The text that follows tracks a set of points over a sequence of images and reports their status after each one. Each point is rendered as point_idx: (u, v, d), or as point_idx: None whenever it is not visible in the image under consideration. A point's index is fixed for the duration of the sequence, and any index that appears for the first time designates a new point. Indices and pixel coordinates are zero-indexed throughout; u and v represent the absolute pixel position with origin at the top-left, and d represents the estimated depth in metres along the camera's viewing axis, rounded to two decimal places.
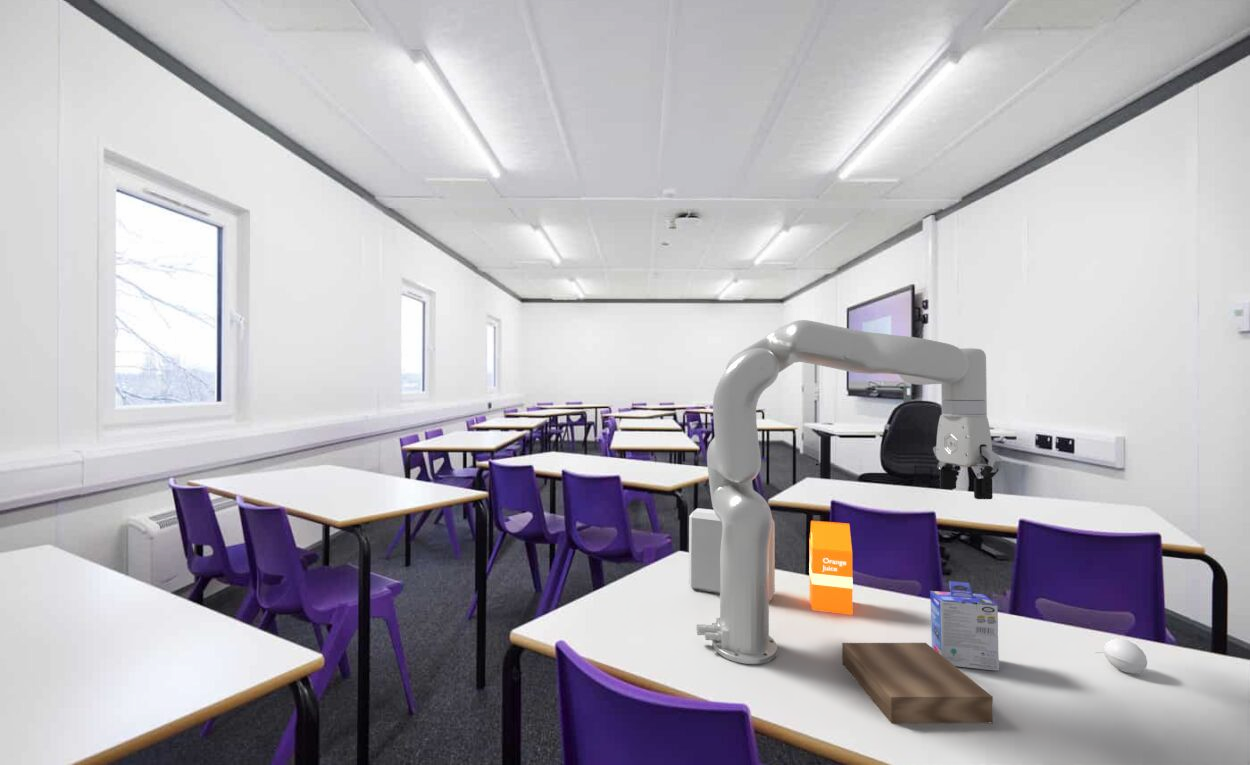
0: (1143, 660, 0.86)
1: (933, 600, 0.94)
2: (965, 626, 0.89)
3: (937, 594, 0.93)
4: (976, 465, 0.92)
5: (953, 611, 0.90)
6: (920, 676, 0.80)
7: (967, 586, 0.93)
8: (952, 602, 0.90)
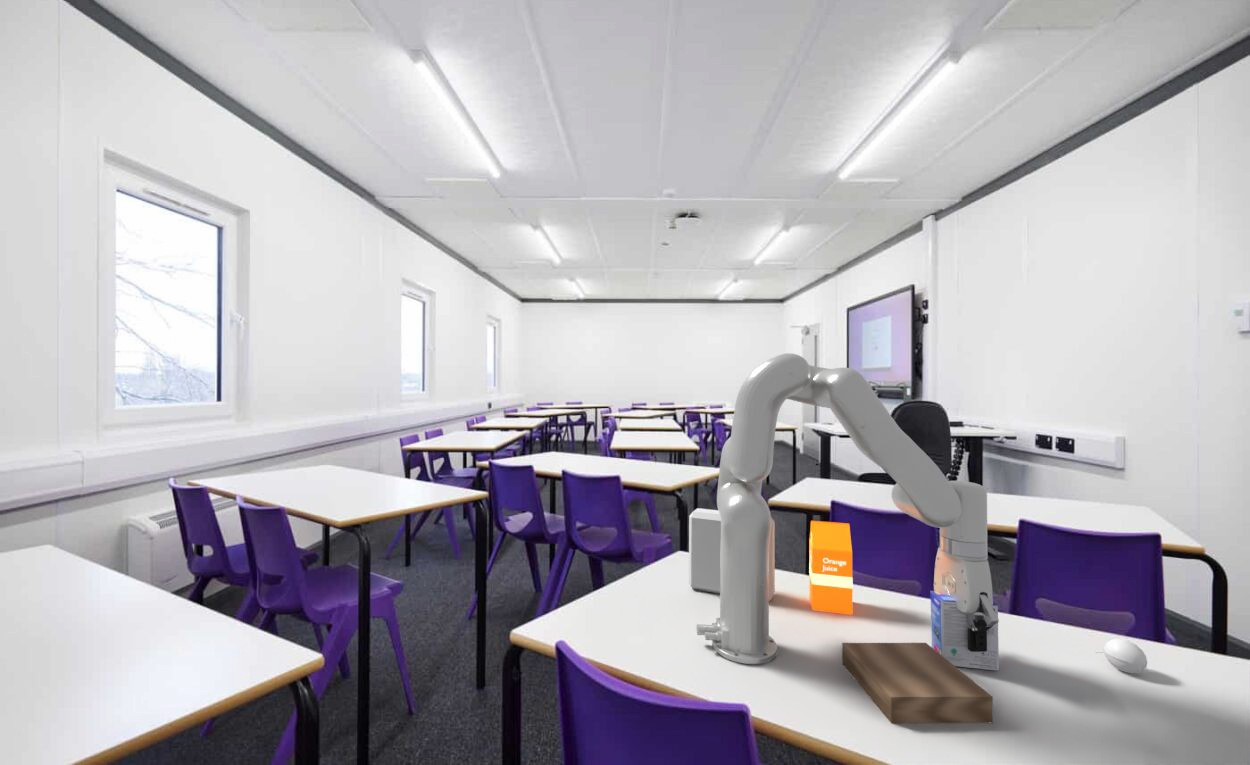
0: (1143, 660, 0.86)
1: (933, 600, 0.93)
2: (965, 625, 0.89)
3: (937, 594, 0.93)
4: (972, 616, 0.88)
5: (954, 611, 0.90)
6: (920, 676, 0.80)
7: None
8: (952, 602, 0.90)
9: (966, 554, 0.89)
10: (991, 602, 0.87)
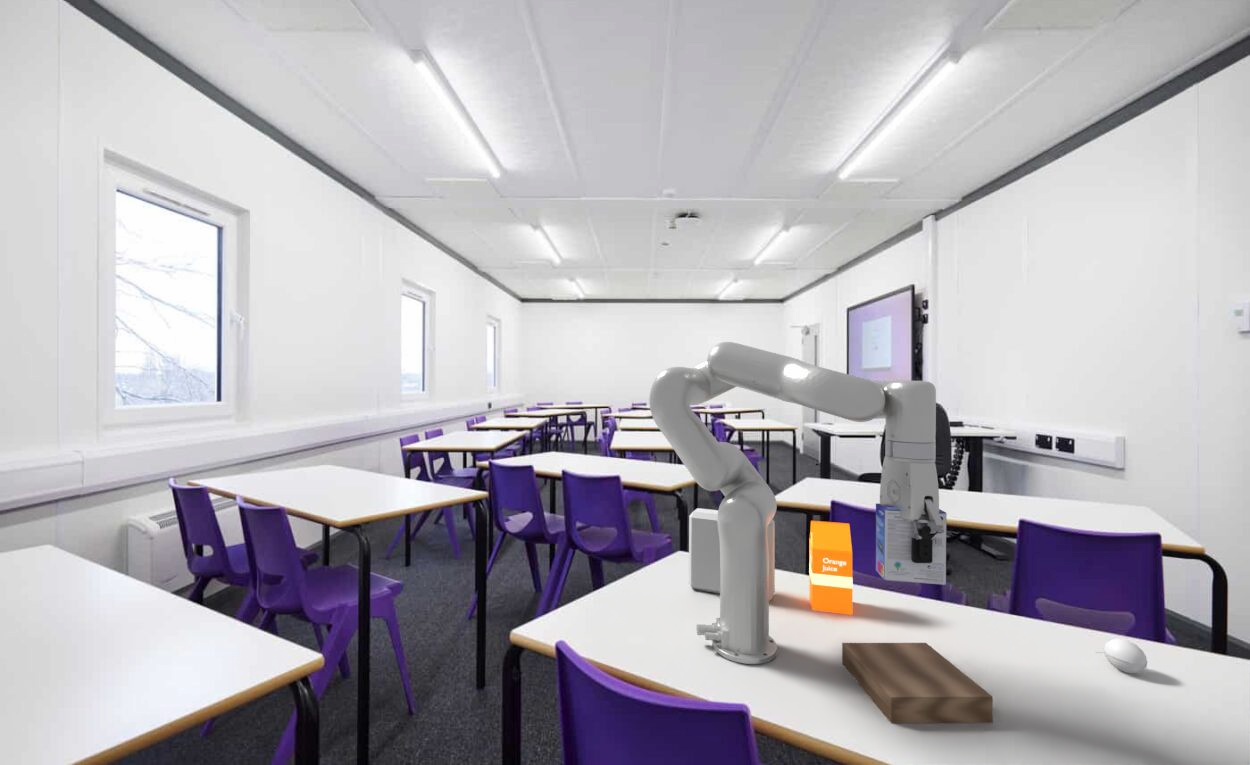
0: (1143, 660, 0.86)
1: (878, 512, 0.85)
2: (911, 536, 0.81)
3: (882, 505, 0.84)
4: (917, 523, 0.79)
5: (898, 521, 0.81)
6: (920, 676, 0.80)
7: None
8: (897, 511, 0.81)
9: (911, 456, 0.80)
10: (937, 507, 0.78)
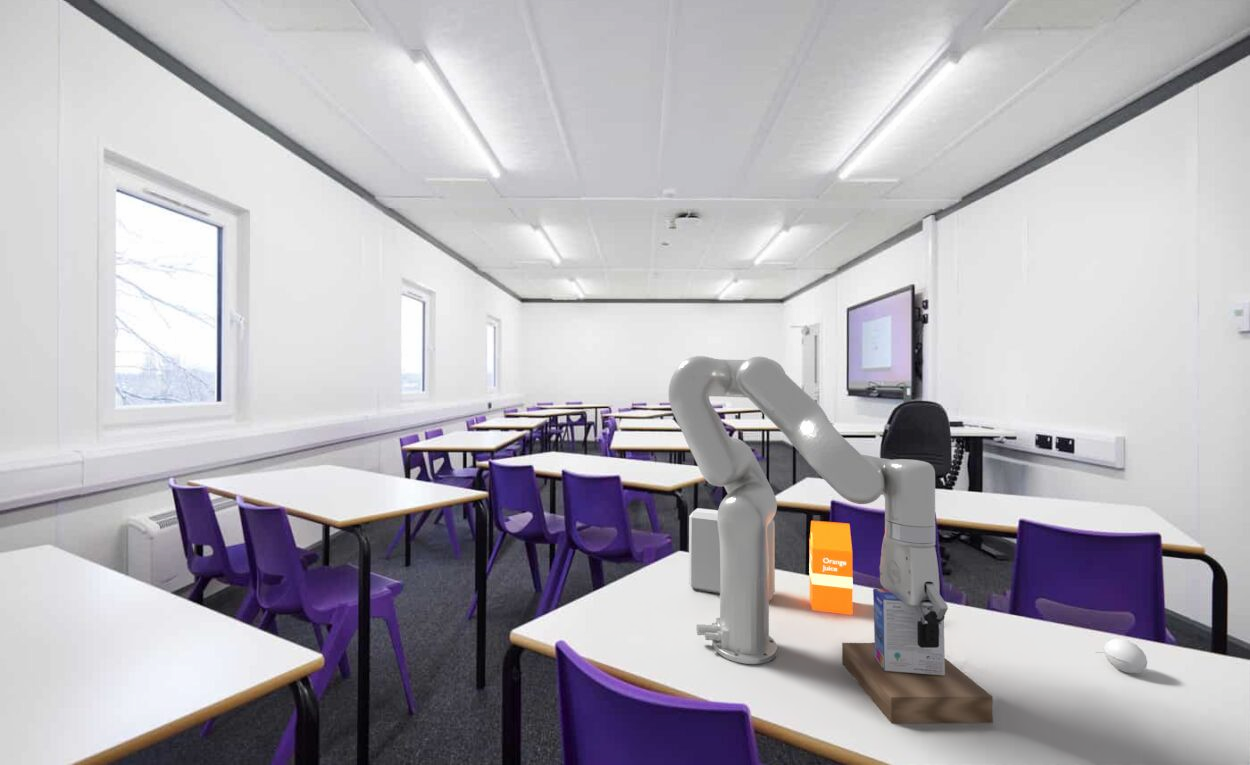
0: (1143, 660, 0.86)
1: (876, 599, 0.85)
2: (910, 626, 0.81)
3: (880, 592, 0.84)
4: (920, 606, 0.78)
5: (897, 610, 0.81)
6: (920, 676, 0.80)
7: None
8: (896, 601, 0.81)
9: (911, 539, 0.79)
10: (937, 593, 0.78)
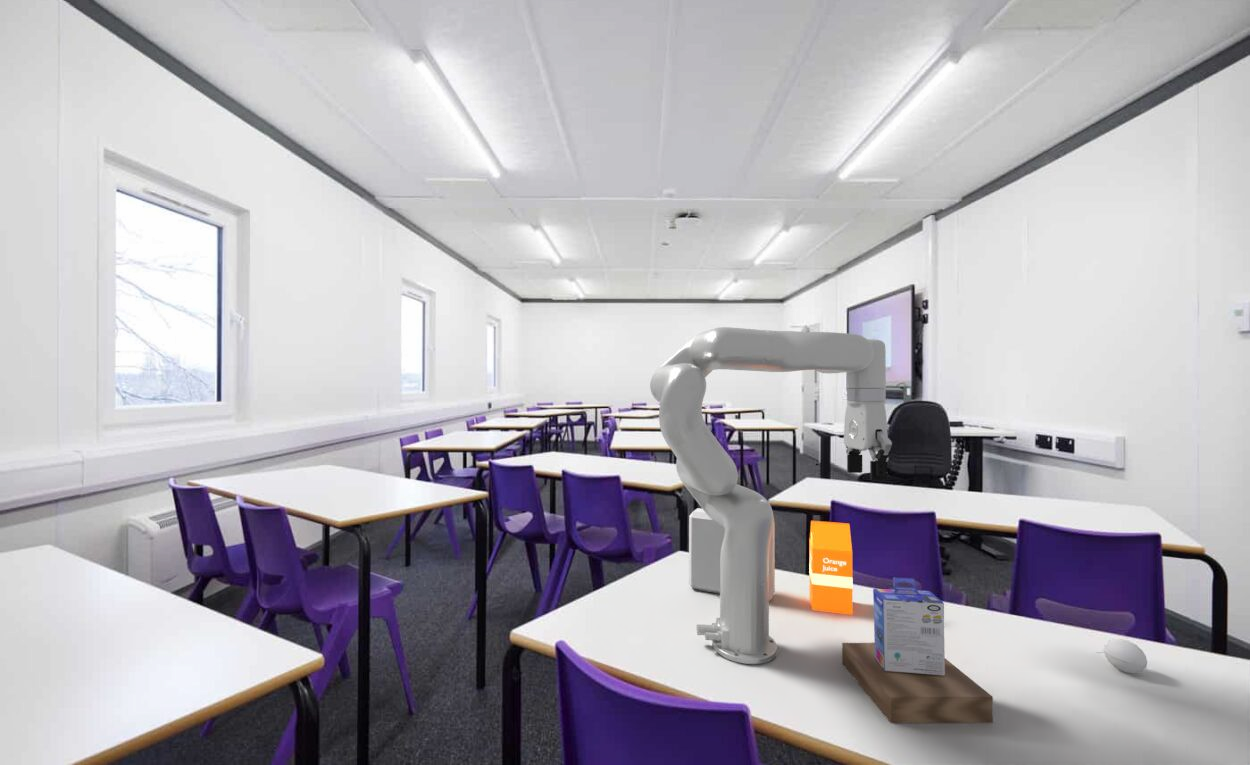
0: (1143, 660, 0.86)
1: (875, 599, 0.84)
2: (910, 626, 0.81)
3: (880, 592, 0.84)
4: (872, 449, 0.98)
5: (897, 610, 0.81)
6: (920, 676, 0.80)
7: (912, 582, 0.84)
8: (896, 601, 0.81)
9: (865, 398, 1.00)
10: None
